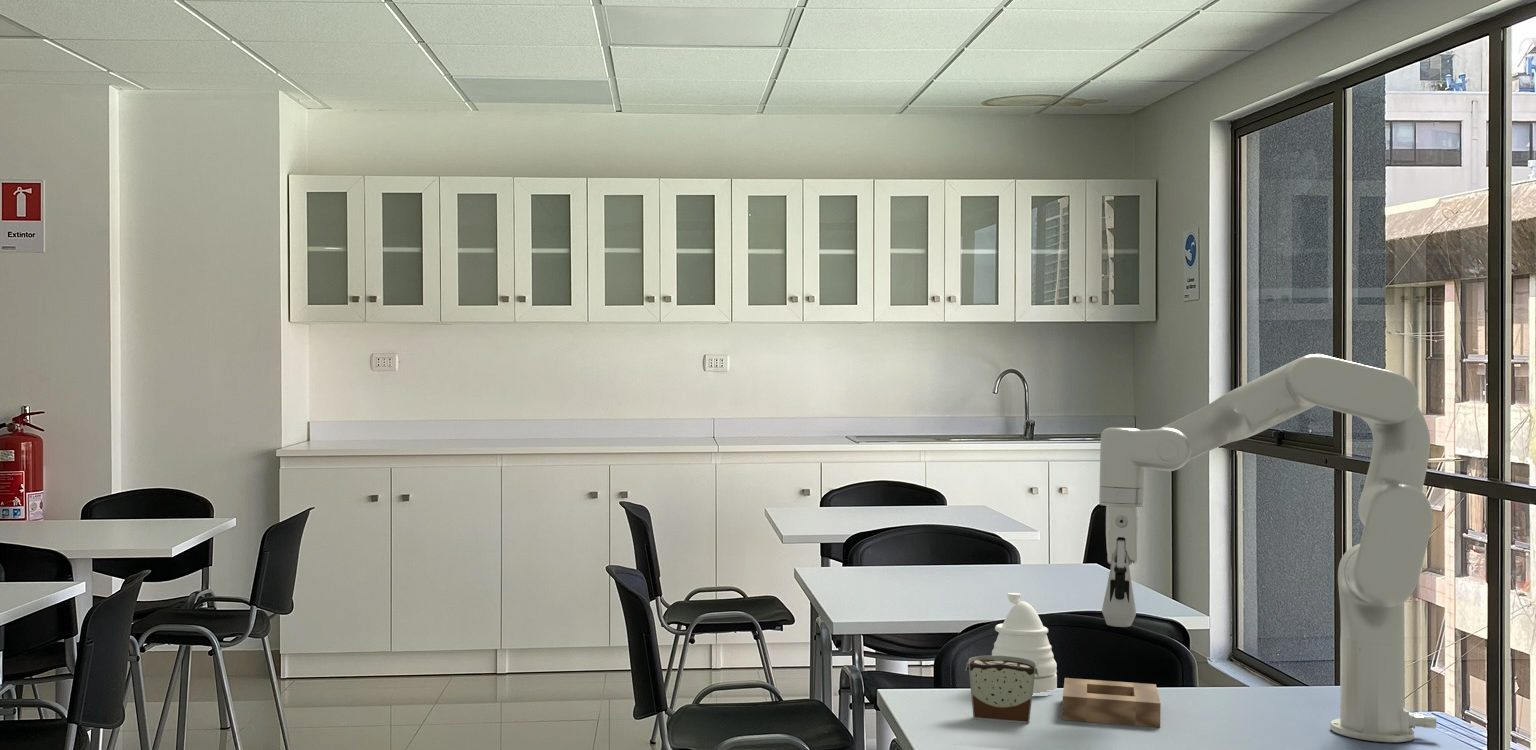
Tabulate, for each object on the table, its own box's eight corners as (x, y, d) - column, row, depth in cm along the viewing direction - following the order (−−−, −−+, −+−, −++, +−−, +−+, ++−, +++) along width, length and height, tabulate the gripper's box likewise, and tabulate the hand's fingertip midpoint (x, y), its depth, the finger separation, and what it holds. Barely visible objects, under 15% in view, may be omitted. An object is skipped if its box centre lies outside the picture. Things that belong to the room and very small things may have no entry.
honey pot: (975, 689, 232) (976, 594, 233) (1008, 679, 242) (1009, 588, 243) (1036, 700, 224) (1038, 601, 225) (1068, 689, 234) (1069, 595, 235)
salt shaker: (1137, 628, 212) (1138, 553, 212) (1102, 626, 213) (1104, 551, 213) (1134, 623, 217) (1135, 550, 218) (1100, 621, 218) (1102, 548, 219)
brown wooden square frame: (1155, 706, 221) (1155, 684, 221) (1160, 727, 205) (1160, 703, 205) (1064, 699, 225) (1064, 677, 225) (1062, 719, 209) (1062, 695, 209)
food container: (1040, 716, 212) (1040, 657, 212) (1038, 724, 206) (1038, 664, 206) (968, 710, 215) (969, 652, 215) (964, 717, 209) (965, 659, 210)
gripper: (1145, 501, 207) (1143, 610, 206) (1141, 496, 223) (1139, 597, 222) (1099, 498, 209) (1097, 607, 208) (1099, 494, 225) (1096, 594, 224)
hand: (1119, 601), depth 215 cm, fingers closed on salt shaker, 3 cm apart
